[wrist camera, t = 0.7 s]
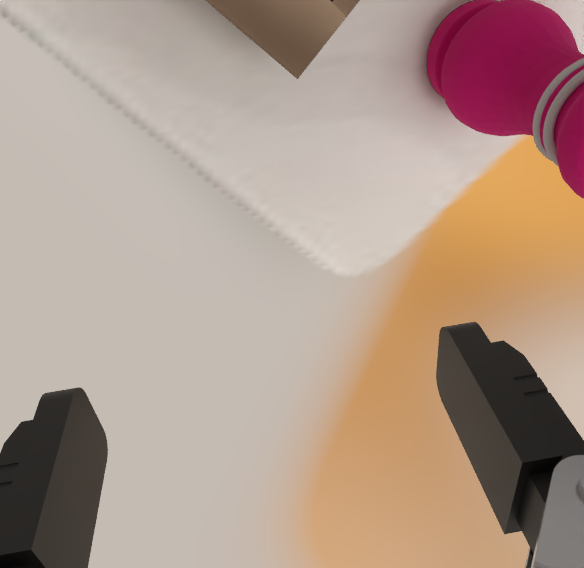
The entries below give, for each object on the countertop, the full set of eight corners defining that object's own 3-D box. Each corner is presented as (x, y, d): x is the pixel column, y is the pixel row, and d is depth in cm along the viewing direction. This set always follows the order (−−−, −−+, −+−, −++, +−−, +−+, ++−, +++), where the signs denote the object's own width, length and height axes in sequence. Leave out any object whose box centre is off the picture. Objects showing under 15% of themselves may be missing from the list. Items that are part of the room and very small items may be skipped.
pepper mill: (398, 44, 33) (588, 170, 17) (499, -39, 32) (820, 14, 15) (449, 130, 37) (644, 300, 21) (543, 61, 35) (836, 188, 19)
